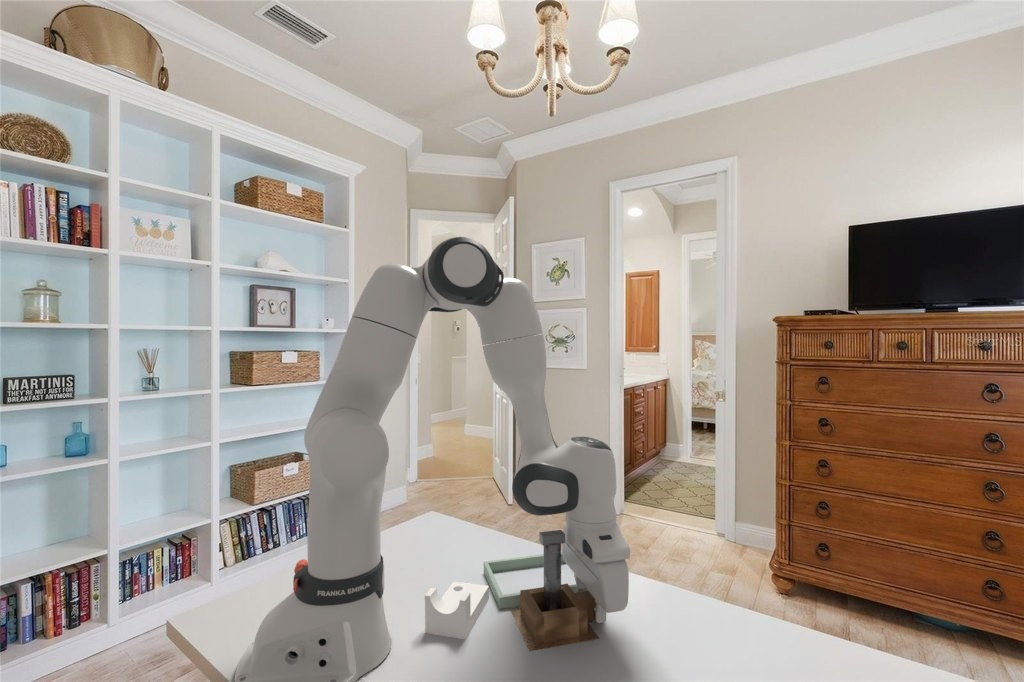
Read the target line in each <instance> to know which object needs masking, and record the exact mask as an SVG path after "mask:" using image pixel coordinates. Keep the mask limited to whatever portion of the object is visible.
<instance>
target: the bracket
mask: <svg viewBox="0 0 1024 682" xmlns="http://www.w3.org/2000/svg"><path fill="white" fill-rule="evenodd" d="M489 598H490V585H486V584H485V585H484V584H478V583H469V582H461V581H453V582H452V583H451V585H450V586H449V587H448V588H447V589H446V591H445V593H443V595H442V596H441V598H440V596H439V594H438V590H437V587H430V588H429V590H428V591H427V592H426V593H425V595H424V620H425V621H424V622H425V623H424V624H425V626H424V633H425V634H430V635H436V636H441V637H446V638H447V637H448V638H454V639H459V640H460V639H461V640H466V639H467V638H468V636H469V634H470V632H471V630H472V629H473V627H474V625H475V623H476V622H477V620H478V618H479V616H480V614H481V613H482V612H483V609H484V608H485V606H486V604H487V602H488V600H489Z"/></svg>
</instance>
